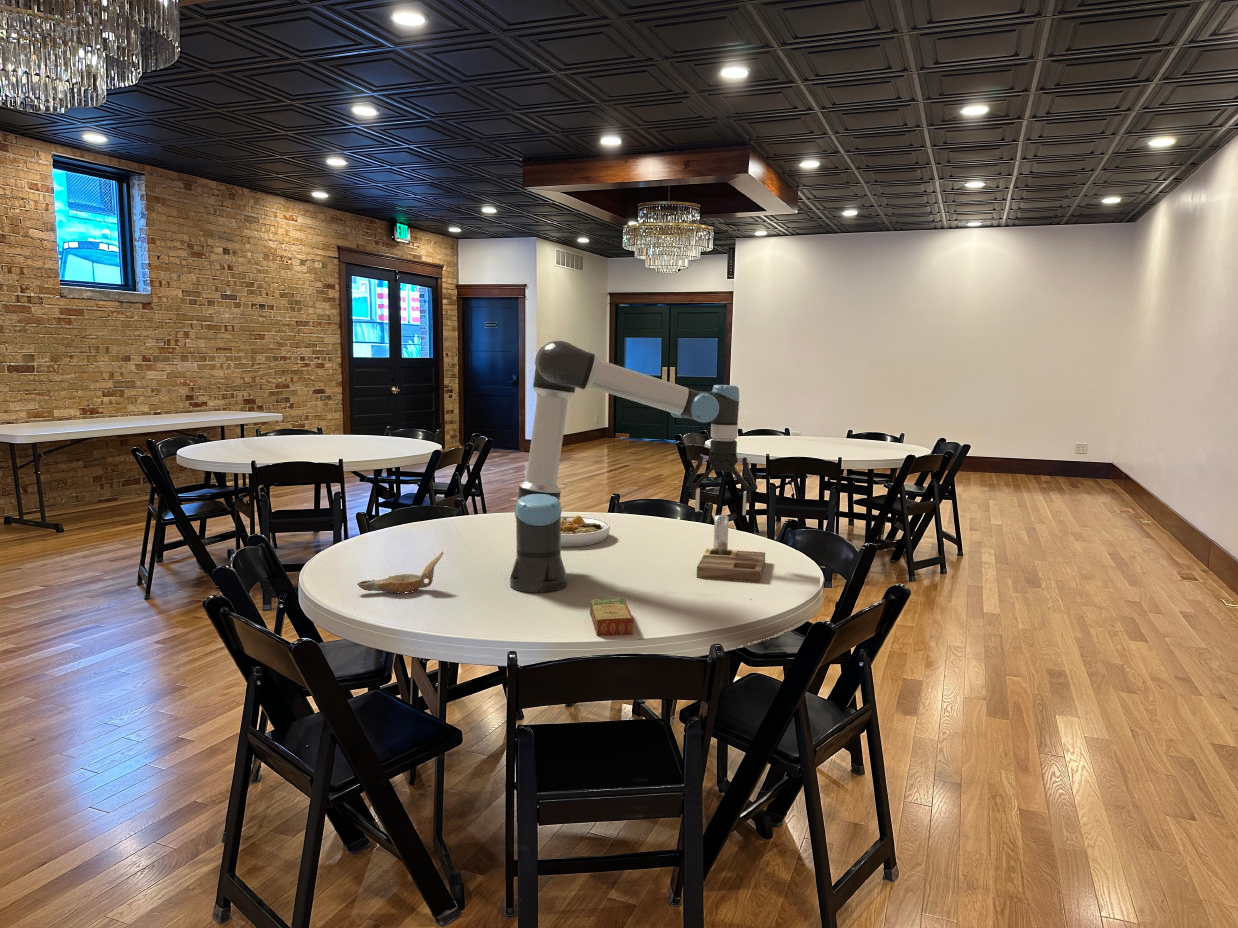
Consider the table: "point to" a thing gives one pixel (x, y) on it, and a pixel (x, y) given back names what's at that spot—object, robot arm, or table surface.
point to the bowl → (582, 531)
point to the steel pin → (721, 535)
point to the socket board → (732, 565)
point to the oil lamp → (402, 581)
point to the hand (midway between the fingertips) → (720, 512)
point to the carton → (611, 616)
